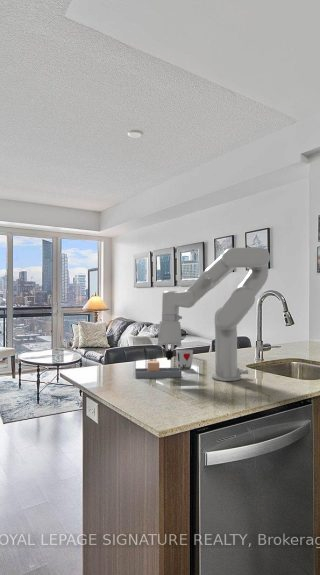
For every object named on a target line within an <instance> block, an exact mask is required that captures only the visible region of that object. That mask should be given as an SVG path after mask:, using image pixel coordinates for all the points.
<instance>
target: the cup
mask: <svg viewBox="0 0 320 575" xmlns="http://www.w3.org/2000/svg"><path fill="white" fill-rule="evenodd" d="M175 353H176V354H175V356H176V363H177V368H178V367H179V371H188V370H191V369H192V363H193V359H194V358H193V356H194V355H193V354H194V351H193V349H176V350H175Z"/></svg>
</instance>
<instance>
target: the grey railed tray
mask: <svg viewBox="0 0 320 575" xmlns="http://www.w3.org/2000/svg"><path fill="white" fill-rule="evenodd" d="M134 374H135V379H149V378H151V379H153V378H154V379H155V378H161V379H162V378H182V370H180V369H179V367H178V366H177V367H159V371H150V372H148V367H145V368H143V367H142V368H141V367H138V368H135V372H134Z"/></svg>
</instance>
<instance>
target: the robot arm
mask: <svg viewBox="0 0 320 575" xmlns="http://www.w3.org/2000/svg"><path fill="white" fill-rule="evenodd" d="M270 260H271V255H270V252H269V251H268V250H267V249H266V248H265V247H261V246H257V247H256V246H255V247H254V246H253V247H230V248H227V249H226V250H224V252H223V253H222V254H220V256H219V257H218V258H216V259H215V260H214V261H213V262H212V263H211V264H210V265H209V266H208V267H207V268H206V269H205V270H203V272H202V273H201V274H200V276H199V277H198V278H197V279H196V280H195V281H194V282H193V283H192V284H191V285H190V286H189V287H188V288H187V289H186V290H183V291H176V290H175V291H174V290H165V291H163V292H162V297H161V298H162V300H161V302H162V304H161V320H160V321H159V326H158V333H157V334H158V335H157V340H158V341H157V346H158V347H161V348H162V349H164V350H165V358H166V360H167V361H172V359H173V358H174V357H173V355H174V350H175V349H176V348H179V347H182V329H181V328H182V327H181V322H180V320H182V318H183V316H181V315H179V313H180V308H187V309H189V308H192V307H194V306H195V305H196V303H197V302H199V301H200V300H201V299H202V298H203V297H204V296H205V295H206V294H207V293H209V291H212V290H213V289H214V288H215V287H217V286H218V285H219V284H220V283H221V282H222V281H223V280H224V279H226V277H228V276H229V275H230V274H231V273H232V272H233V271H234V270H236V268H248V273H247V274H246V276H245V277H244V278H243V280H242V281H241V282H240V283H239V285H238V286H237V287H236V288H235V289H234V290H233V291H232V292H231V295H230V297H229V298H228V299H227V300H226V302H225V303H224V304H223V306H221V307H219V308H218V309H217V310H216V312H214V332H215V333H214V336H215V337H214V351H215V352H214V354H215V355H214V356H215V359H214V361H215V373H213V374H212V375H211V378H212V379H213V380H216V381H219V382H220V381H221V382H235V381H239V380H241V379H242V376H241V375H249V369H243V368H239V367H238V329H237V328H238V327H237V326H238V325H239V324H240V322H241V321H242V320H243V318H245V316H246V315H247V314H248V313H249V311H250V310H251V309H252V307H253V306H254V305H255V302H256V296H257V295H258V294H259V293H260V291H261V289H262V288H263V287H264V285H265V284H266V282H267V281H268V278H269V277H268V276H269V266H268V264H269V263H270ZM169 345H170V347H169ZM169 348H170V349H169Z"/></svg>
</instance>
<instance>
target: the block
mask: <svg viewBox="0 0 320 575" xmlns="http://www.w3.org/2000/svg"><path fill="white" fill-rule="evenodd" d="M147 368H148V372H150V371H159V368H160V361H159V360H148V361H147Z"/></svg>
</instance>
